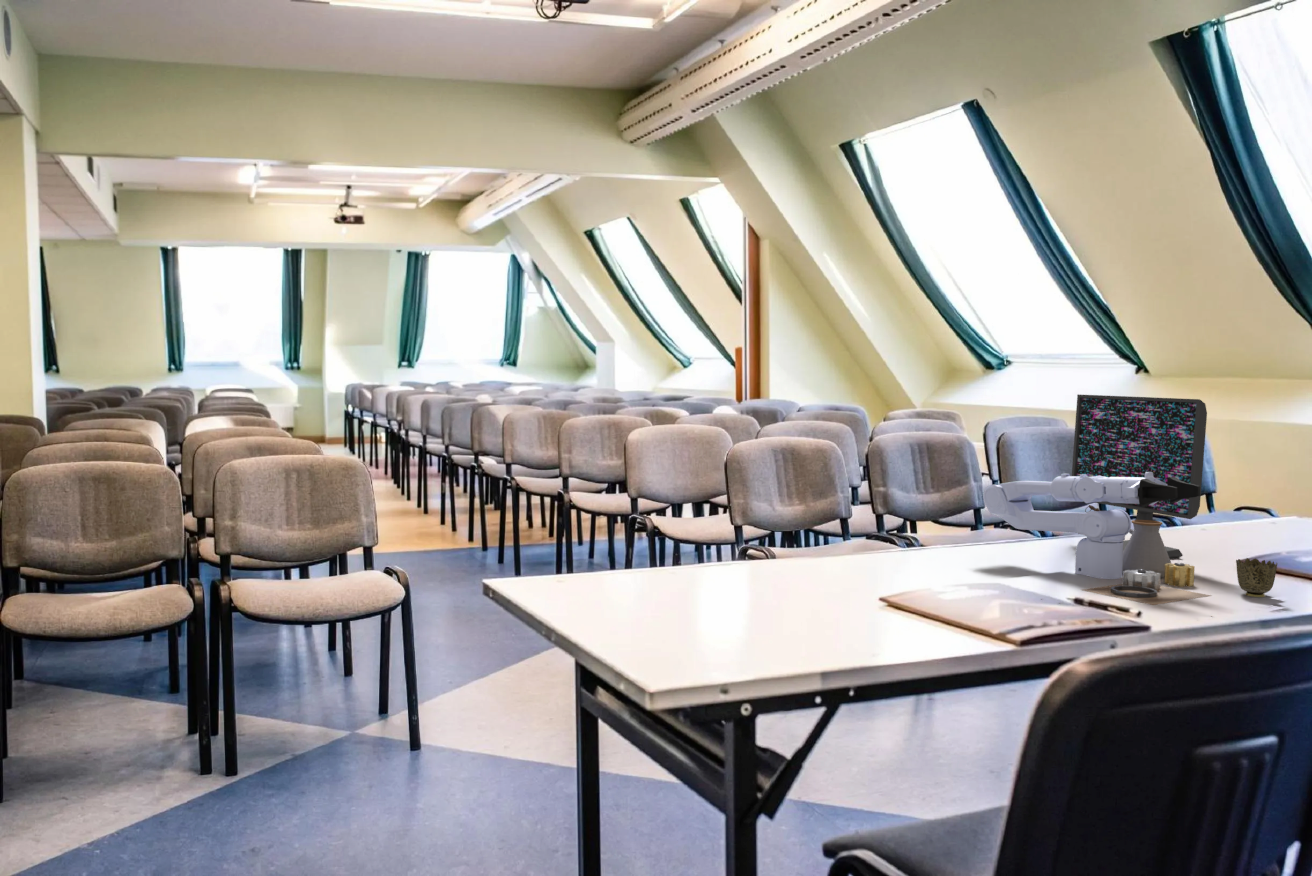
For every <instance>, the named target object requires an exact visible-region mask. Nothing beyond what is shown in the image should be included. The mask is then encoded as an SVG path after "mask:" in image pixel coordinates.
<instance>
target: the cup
mask: <svg viewBox="0 0 1312 876" xmlns="http://www.w3.org/2000/svg"><path fill="white" fill-rule="evenodd" d="M1235 563H1236V564H1235V565H1236V575H1237V583H1238V586H1239V587H1240V589H1242V590H1243V591H1244V592H1245V593H1244V595H1245V596H1248V597H1255V598H1264V597H1266V593H1269V592H1270V591H1272V588H1273V586H1274V583H1275V579H1276V575H1277V569H1278V568H1277V567H1278V562H1276V563H1275V562H1274V561H1271V560H1268V561H1267V562H1266V560H1265V559H1263V560H1261V561H1260V560H1259V559H1258V558H1253V559H1251V560H1250V558H1247V557H1246V558H1245V560H1244V561H1241V559H1239V558H1238V559H1236V560H1235Z"/></svg>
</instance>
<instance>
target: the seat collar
mask: <svg viewBox="0 0 1312 876" xmlns="http://www.w3.org/2000/svg"><path fill="white" fill-rule="evenodd" d="M1118 590H1135V591H1143V592H1148V593H1129V592H1123V591H1118ZM1111 593H1113V594H1115V595H1120V596H1125V597H1134V598H1152V597H1156V596H1157V591H1156V590H1154V589H1151V588H1146V587H1139V586H1113V587H1112V588H1111Z"/></svg>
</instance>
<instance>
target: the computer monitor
mask: <svg viewBox="0 0 1312 876" xmlns="http://www.w3.org/2000/svg"><path fill="white" fill-rule="evenodd" d="M1075 409H1076V410H1075V422H1074V423H1075V424H1074V439H1073V451H1072V453H1073V454H1072V464H1071V465H1072V467H1071V476H1080V475H1081V474H1086V475H1087V477H1092V476H1098V475H1101V476H1104V477H1145V472H1153V477H1154V478H1156V479H1158V480H1160V481H1162V482H1164V483H1166V484H1167V477H1176V478H1178V479H1179V480H1181V481H1183V482H1186V483H1190V484H1194V485H1198V486H1200V496H1198V497H1192V498H1185V499H1182V500H1180V501H1178V502H1176V503H1170V499H1169V500H1161V501H1158V502H1157V503H1155V504H1154V505H1146V506H1141V505H1140V504H1131V503H1111V502H1107V501H1102V502H1093V503H1096V504H1101V505H1106V506H1112V507H1117V508H1122V509H1123V508H1125V509H1129V510H1136V517H1135V518H1136V519H1135V520H1153V521H1154V519H1153V518H1154V517H1153V516H1154V514H1158V515H1163V516H1164V515H1165V516H1171V517H1175V518H1181V519H1187V520H1192V519H1194V518H1195V517H1197V515H1198V513H1199V510H1200V507H1201V499H1202V498H1201V497H1202V482H1203V469H1204V457H1205V456H1204V455H1205V445H1206V434H1207V433H1206V431H1207V420H1208V419H1207V418H1208V411H1207V405H1206V403H1205V402H1204V401H1203V400H1201V399H1200V398H1199V399H1198V398H1176V397H1175V398H1174V397H1153V396H1151V397H1149V396H1148V397H1147V396H1127V395H1126V396H1125V395H1124V396H1123V395H1122V396H1121V395H1099V394H1098V395H1097V394H1079V393H1078V394H1077V398H1076V408H1075ZM1128 541H1129V539H1125V540H1123V551H1124V549H1125V547H1126V545H1127V543H1128ZM1164 546H1165V545H1164ZM1165 548H1166V551H1167V553H1168V556H1169V558H1170V560H1171V559H1172V560H1174V559H1180V558H1182V557H1183V556H1184V554H1183V553H1182V551H1181V550H1180V549H1179V548H1174V547H1170V546H1165Z"/></svg>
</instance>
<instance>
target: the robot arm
mask: <svg viewBox="0 0 1312 876" xmlns="http://www.w3.org/2000/svg"><path fill="white" fill-rule="evenodd" d="M1033 496H1052V497H1053V499H1054V500H1056V501H1058V502H1081V503H1082V502H1084V503H1085V504H1090V503H1094V502H1102V501H1107V502H1111V503H1131V504H1140V505H1141V506H1146V505H1154V504H1155V503H1157V502H1158V501H1161V500H1169V499H1170V503H1176V502H1178V501H1180V500H1182V499H1185V498H1192V497H1198V496H1200V486H1198V485H1194V484H1190V483H1186V482H1183V481H1181V480H1179V479H1178V478H1176V477H1167V484H1166V483H1164V482H1162V481H1160V480H1158V479H1156V478H1154V477H1153V472H1145V477H1104V476H1101V475H1098V476H1092V477H1087V475H1086V474H1081V475H1080V476H1072V475H1070V473H1061V474H1060V475H1059V476H1056V477H1055V478H1053V479H1052V481H1041V480H1017V481H1009V482H1003V483H999V484H990V485H988V486H987V487H985V489H984V492H983V495H982V497H983V499H982V500H983V503H984V505H985V507H986V508H987V510H988V512H989V514H991V515H994V516H997V517H998V518H1000V519H1002V520H1003V521H1004V522H1005V523H1007V524H1009V525H1010V526H1012V527H1013V528H1015V529H1016V530H1017V529H1018V530H1022V531H1023V530H1028V531H1041V532H1042V531H1043V532H1056V533H1057V532H1058V533H1060V532H1061V533H1073V534H1074V533H1075V534H1077V535H1083V536H1085V537H1083V538H1081V539H1080V540H1079V541H1078V542H1077V544H1076V548H1075V564H1074V565H1075V566H1074V567H1075V569H1074V573H1075V574H1077V575H1083V576H1087V577H1091V578H1094V579H1095V578H1096V579H1103V580H1119V579H1123V573H1122V564H1123V541H1125V540H1126V536H1127V535H1128V534H1130V533H1129V531H1130V529H1131V528H1132V522H1131V521H1132V520H1131V517H1130V515H1129V514H1128V512H1126V511H1125V510H1123V508H1122V509H1121V508H1114V509H1109V510H1100V511H1094V510H1091V511H1090V510H1089V511H1090V512H1089V511H1087V512H1088V513H1086V512H1079V511H1057V510H1056V511H1053V510H1052V511H1051V510H1036V509H1035V508H1034V507H1033V504H1032V498H1033ZM1034 509H1035V510H1034Z"/></svg>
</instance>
